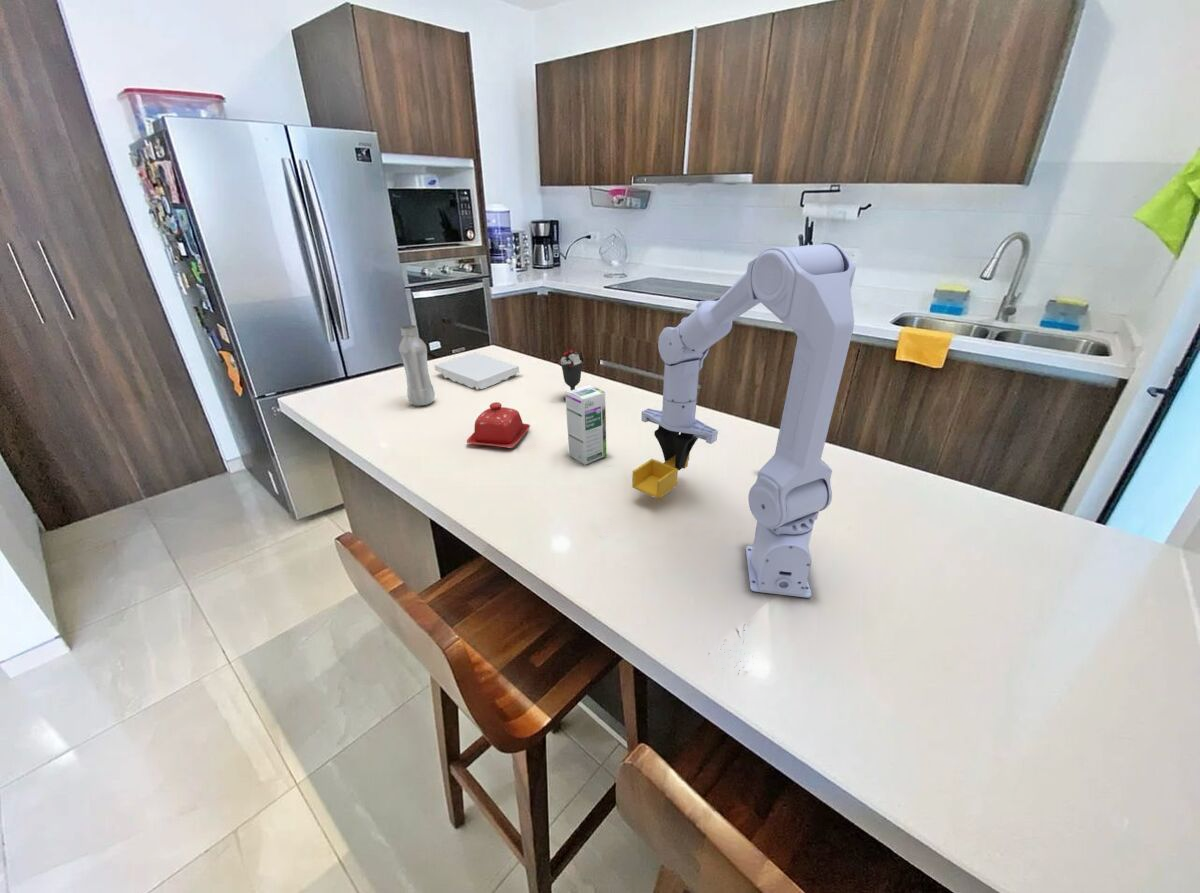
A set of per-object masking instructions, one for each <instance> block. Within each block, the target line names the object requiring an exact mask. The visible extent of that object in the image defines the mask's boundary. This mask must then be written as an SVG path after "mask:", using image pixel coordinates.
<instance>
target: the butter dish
mask: <svg viewBox="0 0 1200 893" xmlns="http://www.w3.org/2000/svg"><path fill="white" fill-rule="evenodd" d="M530 427H531V425H530V424H529V423H524V422H523V420H522V416H521V414H520V412H519V411H518V410H517V409H514V408H510V407H504V406H502V403H501V402H498V401H496V402H491V403H490V404H489V408H487V409H485V410H484V411H482V412H481V413H480V414H479V415H478V416H477V418H476V420H475V421H474V432H473V433H472V434H471V435H470V436H469V437H468V438H467V439H466V443H467V444H469V445H478V446H479V445H480V446H489V447H490V446H491V447H500V448H501V447H502V448H513V447H515V446H516V445H517V444H518V442H520V440H521V439H522V438H523V436H524V435H525V434H526V433H527V432H528V431H529V429H530Z"/></svg>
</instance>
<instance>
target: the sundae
mask: <svg viewBox="0 0 1200 893" xmlns="http://www.w3.org/2000/svg"><path fill="white" fill-rule="evenodd" d="M562 346H563V347H564V353H563V356H562V357H561V359H560V360H558V365H559V366H560V367H561V370H562V376H563V380H564V383H565V384H566V385H567V386H568V387H569V388H570V390H569V391H571V390H574V389H576V386H578V385H579V384H580V382H581V377H582V376H581V375H582V369H583V364H585V360H584V356H585V355H584V353H583V352H580V354H578V352H576V351H574V350H573V349H571V348H569V347H568V346H567V344H563V345H562ZM567 349H568V352H567ZM563 400H564V401H565V402H566V397H565V396H564V397H563Z"/></svg>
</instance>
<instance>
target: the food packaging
mask: <svg viewBox="0 0 1200 893" xmlns="http://www.w3.org/2000/svg"><path fill="white" fill-rule="evenodd" d="M434 370H435V371H436V372H438V373H441V374H442V376H443V378H444V379H450V381H452V382H454V383H455V382H457V383H458V384H461V385H465V386H466V387H467V388H470V389H476V390H477V391H479V390H483V389H486V388H489V387H490V386H494V385H496V384H499V383H501V382H502V381H507V380H508V379H509V378H510V377H511V376H515V375H517V374H519V373H520V366H519V365H516V364H513V363H510V362H507V361H504V360H501V359H497V358H495V357H491V356H489V355H486V354H483V353H479V352H476V351H474V352H471V353H468V354H465V355H461V356H459V357H456V358H455V357H454V358H452V359H449V360H445V361H443V362H439V363H437V364H434Z"/></svg>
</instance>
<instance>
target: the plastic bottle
mask: <svg viewBox="0 0 1200 893" xmlns="http://www.w3.org/2000/svg"><path fill="white" fill-rule="evenodd" d="M400 335H401V336H402V339H401V341H400V342H399V344H398V352H399V355H400V358H401V361H402V364H403V367H404V372H405V377H406V386H407V387H406V388H407V389H406V394H407V399H408V401H409V403H410V404H411V405H413V406H426V405H429V404H431V403H433V402H434V400H435V398H436V396H435V394H436V393H435V389H434V386H433V384H432V380H431V377H430V373H429V365H428V347H427V344H426V343H425V342H424V340H423V339H422V338H421V337H419V336H418V335H419V331H418V327H417V325H412V324H409V325H403V326H400Z"/></svg>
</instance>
